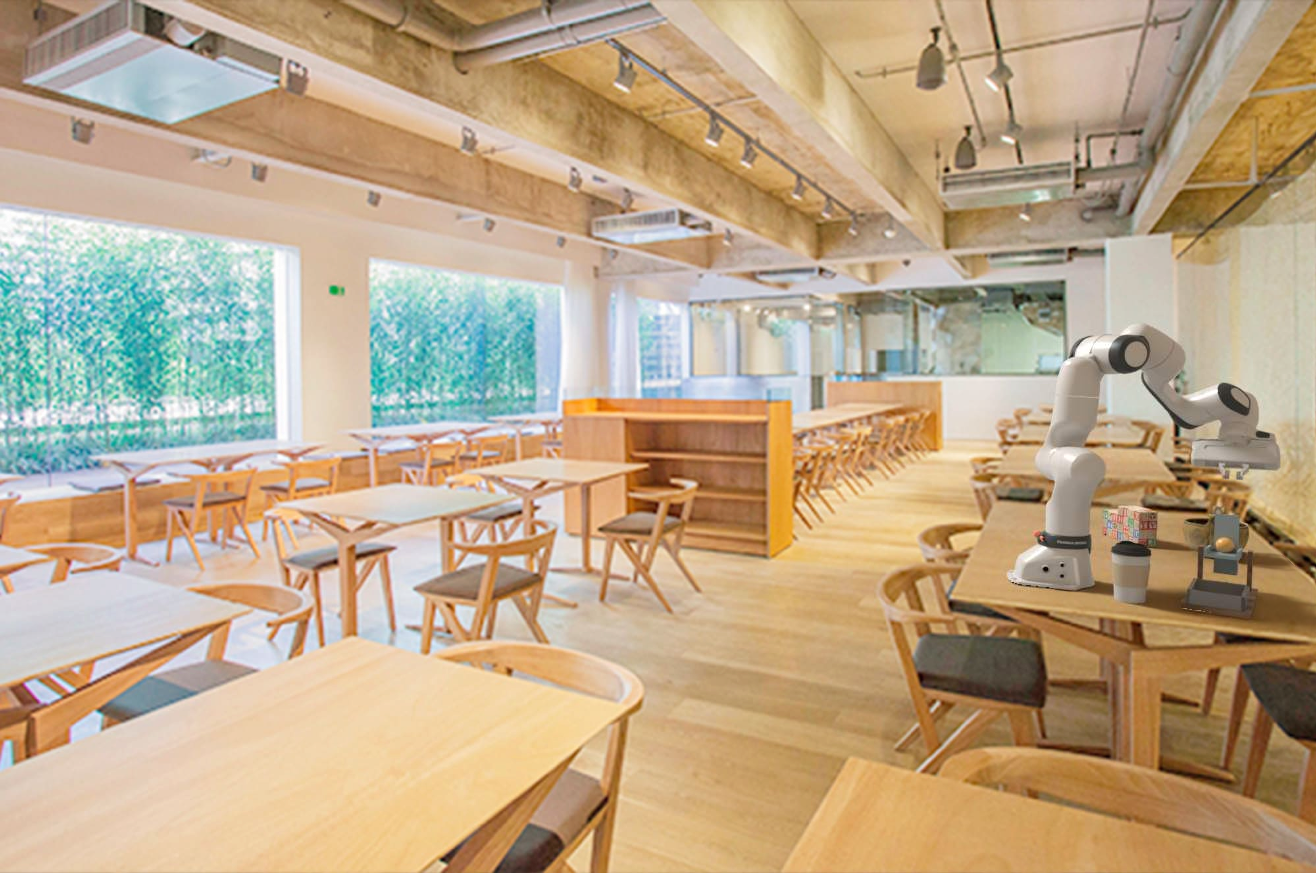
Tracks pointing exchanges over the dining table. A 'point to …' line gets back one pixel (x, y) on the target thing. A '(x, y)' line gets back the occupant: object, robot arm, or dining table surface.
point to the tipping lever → (1228, 529)
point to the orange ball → (1224, 545)
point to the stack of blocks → (1131, 524)
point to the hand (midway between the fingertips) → (1232, 478)
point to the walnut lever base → (1225, 612)
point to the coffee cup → (1130, 571)
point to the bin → (1218, 594)
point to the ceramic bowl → (1209, 530)
